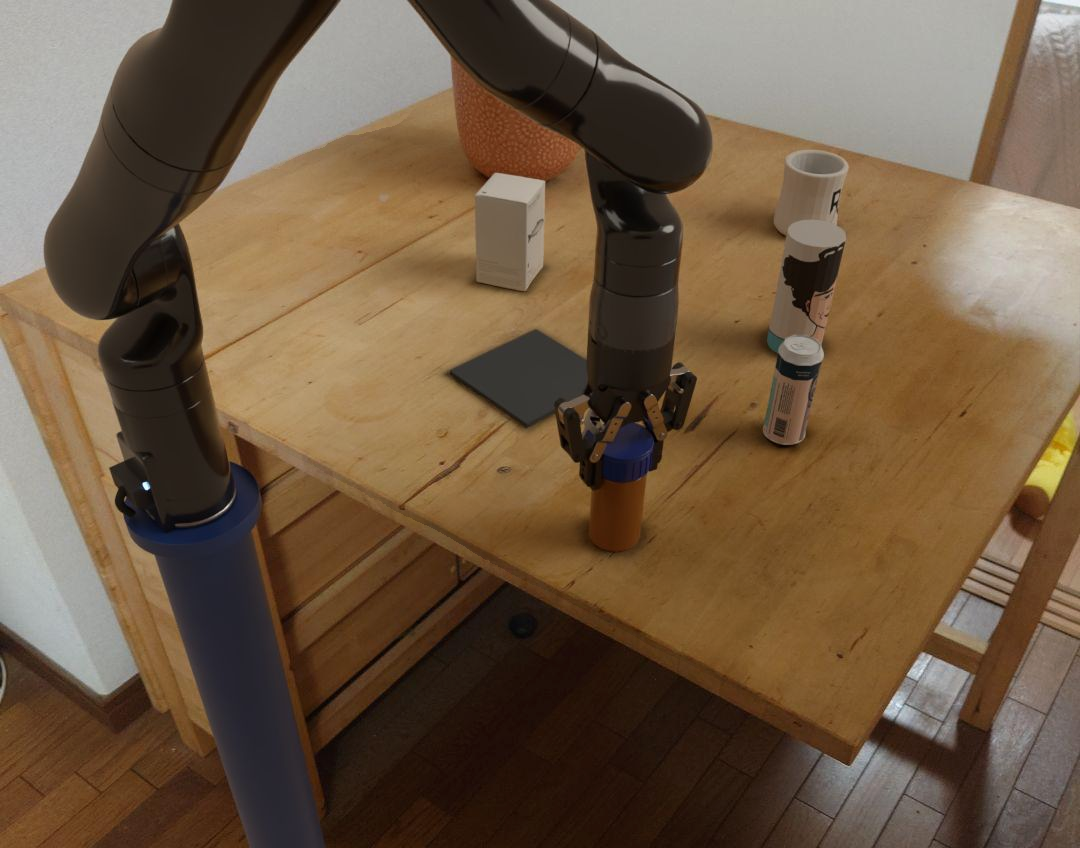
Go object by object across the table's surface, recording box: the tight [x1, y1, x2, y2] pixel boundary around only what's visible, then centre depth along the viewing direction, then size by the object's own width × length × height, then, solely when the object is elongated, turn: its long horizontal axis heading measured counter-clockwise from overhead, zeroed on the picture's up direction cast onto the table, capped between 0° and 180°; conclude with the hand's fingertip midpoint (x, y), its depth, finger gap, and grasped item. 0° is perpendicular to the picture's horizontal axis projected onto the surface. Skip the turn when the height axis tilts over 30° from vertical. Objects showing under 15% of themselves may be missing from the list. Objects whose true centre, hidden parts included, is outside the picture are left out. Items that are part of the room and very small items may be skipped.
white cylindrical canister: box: [766, 220, 847, 354], centre depth 129 cm, size 7×7×15 cm
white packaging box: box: [474, 173, 546, 292], centre depth 141 cm, size 7×7×13 cm
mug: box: [773, 149, 850, 237], centre depth 154 cm, size 12×9×10 cm
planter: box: [449, 54, 581, 182], centre depth 163 cm, size 21×21×19 cm
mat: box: [449, 328, 588, 428], centre depth 128 cm, size 14×14×1 cm
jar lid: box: [592, 422, 654, 482], centre depth 101 cm, size 6×6×3 cm
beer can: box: [762, 335, 825, 446], centre depth 116 cm, size 5×5×12 cm
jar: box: [588, 473, 648, 553], centre depth 104 cm, size 5×5×12 cm
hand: (619, 475), depth 103 cm, fingers closed on jar lid, 5 cm apart
